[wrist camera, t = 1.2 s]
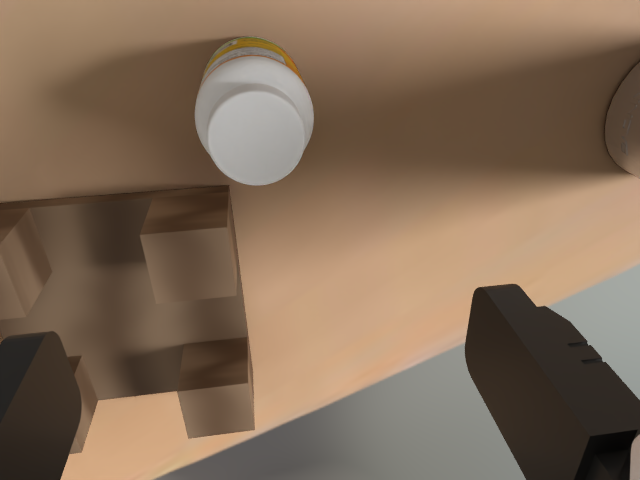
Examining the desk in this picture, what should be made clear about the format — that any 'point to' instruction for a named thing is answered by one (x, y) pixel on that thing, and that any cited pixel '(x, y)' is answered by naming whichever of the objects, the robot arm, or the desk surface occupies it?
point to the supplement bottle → (253, 111)
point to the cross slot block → (135, 299)
